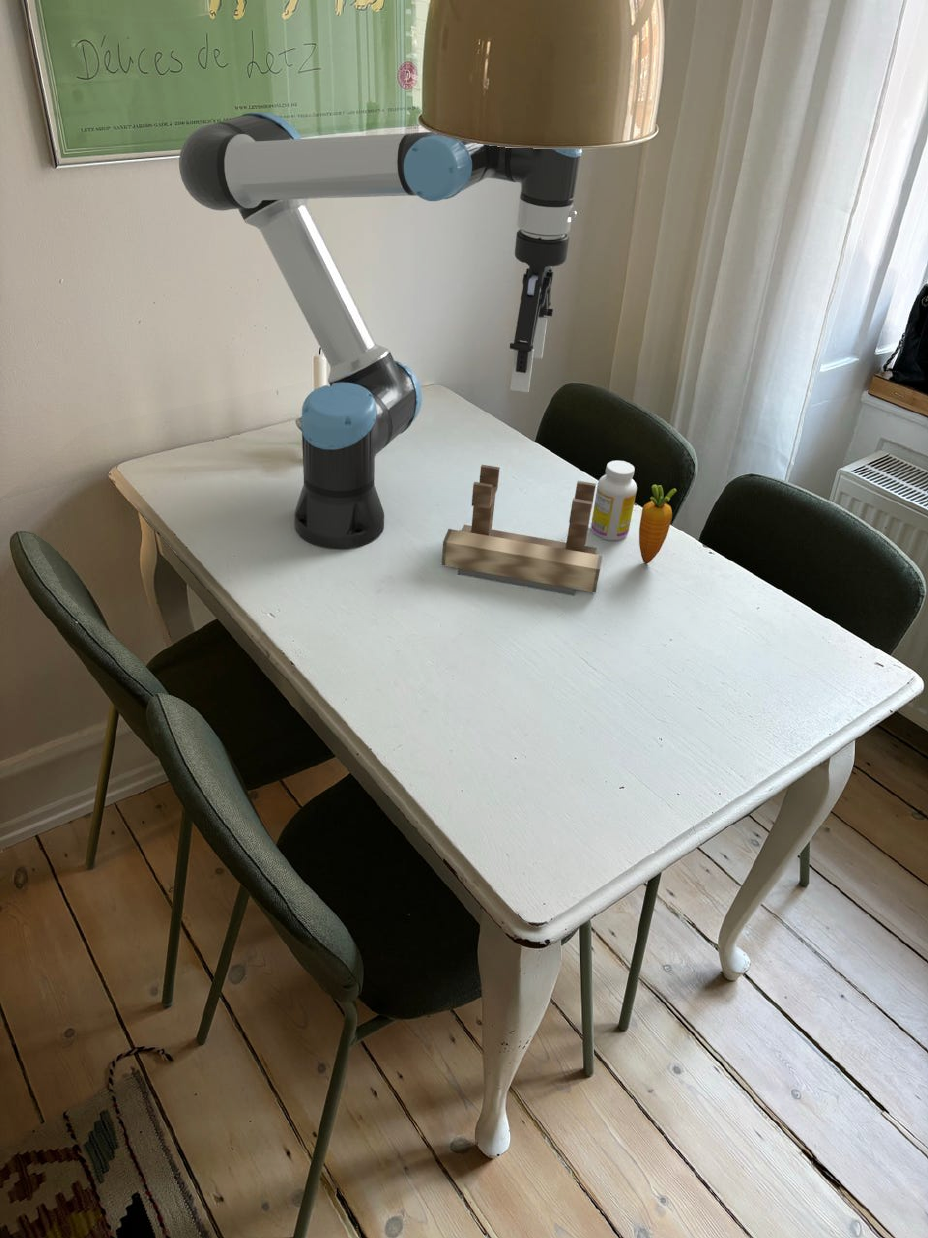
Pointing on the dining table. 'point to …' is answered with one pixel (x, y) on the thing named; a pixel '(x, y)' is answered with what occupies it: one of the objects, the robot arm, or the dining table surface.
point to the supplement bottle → (614, 501)
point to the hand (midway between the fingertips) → (526, 372)
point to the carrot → (654, 524)
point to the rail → (521, 560)
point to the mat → (517, 581)
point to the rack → (483, 525)
